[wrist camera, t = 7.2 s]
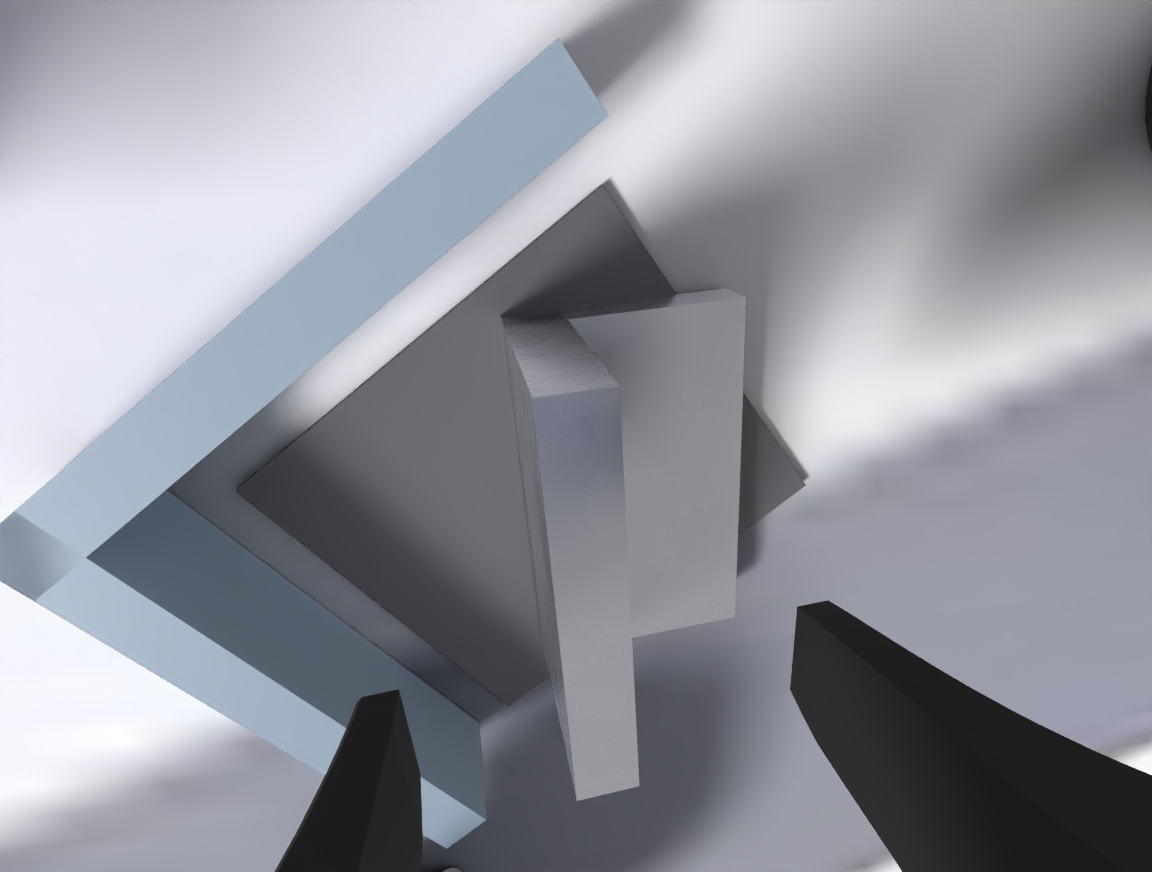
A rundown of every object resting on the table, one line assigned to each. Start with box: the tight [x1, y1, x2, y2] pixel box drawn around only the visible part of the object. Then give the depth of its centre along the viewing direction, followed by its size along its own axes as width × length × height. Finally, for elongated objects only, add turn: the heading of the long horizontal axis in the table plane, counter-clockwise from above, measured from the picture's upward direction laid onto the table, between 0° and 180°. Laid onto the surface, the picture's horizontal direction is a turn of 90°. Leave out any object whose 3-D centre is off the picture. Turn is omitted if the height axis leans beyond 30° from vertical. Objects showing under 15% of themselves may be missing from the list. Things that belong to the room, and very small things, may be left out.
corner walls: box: [0, 38, 608, 849], centre depth 16 cm, size 14×15×4 cm
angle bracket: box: [500, 288, 746, 801], centre depth 16 cm, size 10×6×6 cm, turn 4°
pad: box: [236, 185, 805, 706], centre depth 18 cm, size 11×12×1 cm
